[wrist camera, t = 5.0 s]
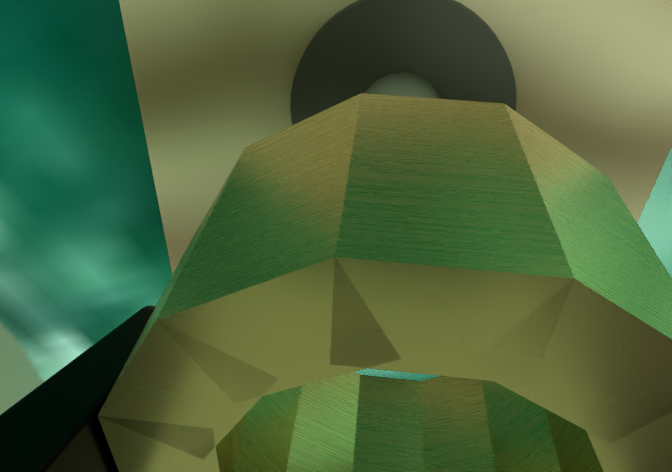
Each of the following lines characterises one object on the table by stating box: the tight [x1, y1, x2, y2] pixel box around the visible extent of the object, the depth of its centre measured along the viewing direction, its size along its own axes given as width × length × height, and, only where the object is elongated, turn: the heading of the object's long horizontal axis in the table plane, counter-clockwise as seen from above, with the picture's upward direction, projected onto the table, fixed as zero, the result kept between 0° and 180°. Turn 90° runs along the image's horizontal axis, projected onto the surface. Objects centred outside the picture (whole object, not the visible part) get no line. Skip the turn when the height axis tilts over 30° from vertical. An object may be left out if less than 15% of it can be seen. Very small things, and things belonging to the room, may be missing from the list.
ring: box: [98, 93, 672, 472], centre depth 8 cm, size 7×7×4 cm
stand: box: [119, 0, 672, 275], centre depth 14 cm, size 16×16×7 cm
